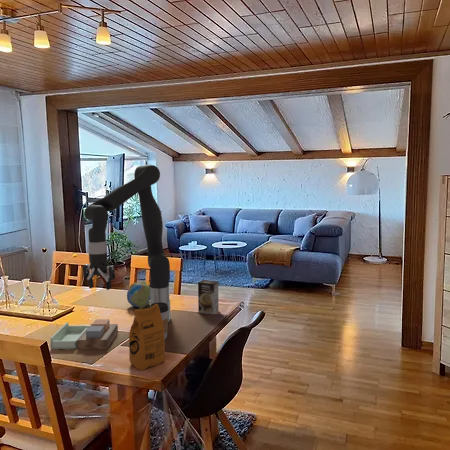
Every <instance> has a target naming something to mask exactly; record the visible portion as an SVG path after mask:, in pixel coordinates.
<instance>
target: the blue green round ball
mask: <svg viewBox="0 0 450 450" xmlns="http://www.w3.org/2000/svg"><path fill="white" fill-rule="evenodd" d="M126 300H127V302H128V304H130V305H131V306H132V307H133V308H134V307H135V308H138V309H144V308H145V307H146V306H148V305H149V306H150V285H149V284H147V282H146V281H142V282H133V283H131V284H130V285H129V287H128V290H127V293H126Z"/></svg>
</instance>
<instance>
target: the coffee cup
mask: <svg viewBox="0 0 450 450" xmlns="http://www.w3.org/2000/svg"><path fill="white" fill-rule="evenodd" d="M155 304H158V306H159V309H160V314H161V316H162V320H163V325H164V340H166V339H167V337H168V326H169V325H168V324H169V322H168V306H167V304H166V303H162V302H158V303H153V304H151V305H150V304H149V308H150V307H152V306H153V305H155ZM149 308H148V309H149Z"/></svg>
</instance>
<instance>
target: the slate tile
mask: <svg viewBox="0 0 450 450" xmlns="http://www.w3.org/2000/svg"><path fill="white" fill-rule="evenodd" d="M89 326H90V325H89ZM104 333H105V328H104V326H90V327H89V328H88V329H87V330H86V338H101V337H102V335H103V334H104Z"/></svg>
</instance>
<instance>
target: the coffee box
mask: <svg viewBox="0 0 450 450" xmlns="http://www.w3.org/2000/svg"><path fill="white" fill-rule="evenodd" d="M219 286H220V285H219V281H218V280H217V281H216V280H208V279H202V280H200V281H198V283H197V293H198V294H197V295H198V298H197V299H198V302H197V303H198V304H197V305H198V307H197V308H198V314H204V315H213V316H215V315H216V314H217V313H218V312H219V309H220V308H219V304H220V303H219V297H220V295H219ZM214 314H215V315H214Z"/></svg>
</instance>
